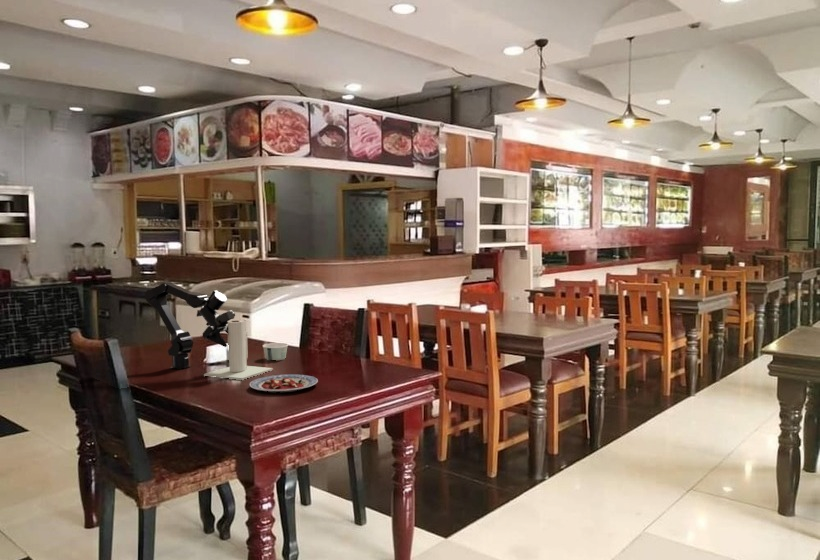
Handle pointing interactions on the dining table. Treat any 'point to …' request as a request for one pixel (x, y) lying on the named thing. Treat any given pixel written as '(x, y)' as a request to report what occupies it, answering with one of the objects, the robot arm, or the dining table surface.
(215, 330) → the robot arm
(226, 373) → the sage board
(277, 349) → the food container
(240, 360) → the paper towel roll
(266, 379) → the ceramic plate
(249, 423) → the dining table surface
